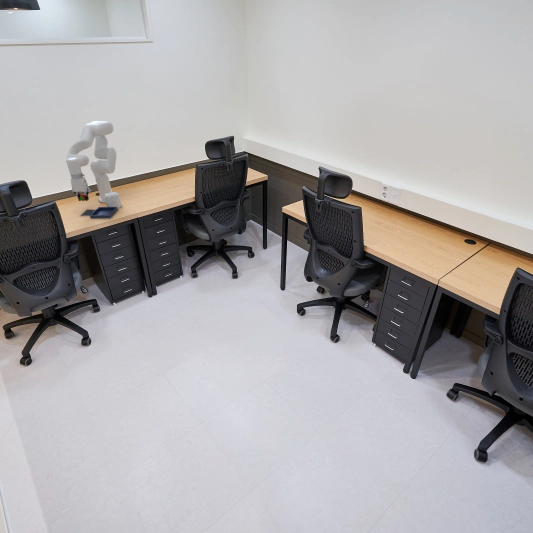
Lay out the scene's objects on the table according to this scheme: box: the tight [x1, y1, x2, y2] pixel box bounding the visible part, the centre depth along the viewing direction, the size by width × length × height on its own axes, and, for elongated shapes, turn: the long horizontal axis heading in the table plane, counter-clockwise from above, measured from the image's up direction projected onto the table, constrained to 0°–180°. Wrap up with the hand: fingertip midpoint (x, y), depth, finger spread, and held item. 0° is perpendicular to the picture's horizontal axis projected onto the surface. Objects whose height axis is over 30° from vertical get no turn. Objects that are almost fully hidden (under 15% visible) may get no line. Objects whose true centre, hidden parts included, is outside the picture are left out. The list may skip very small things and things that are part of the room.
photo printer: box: [105, 191, 122, 209], centre depth 268 cm, size 10×4×12 cm, turn 123°
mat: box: [80, 209, 96, 217], centre depth 264 cm, size 11×7×1 cm, turn 179°
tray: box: [89, 206, 119, 219], centre depth 261 cm, size 15×14×3 cm
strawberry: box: [80, 194, 86, 202], centre depth 257 cm, size 8×4×4 cm, turn 179°
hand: (83, 200), depth 257 cm, fingers closed on strawberry, 4 cm apart
